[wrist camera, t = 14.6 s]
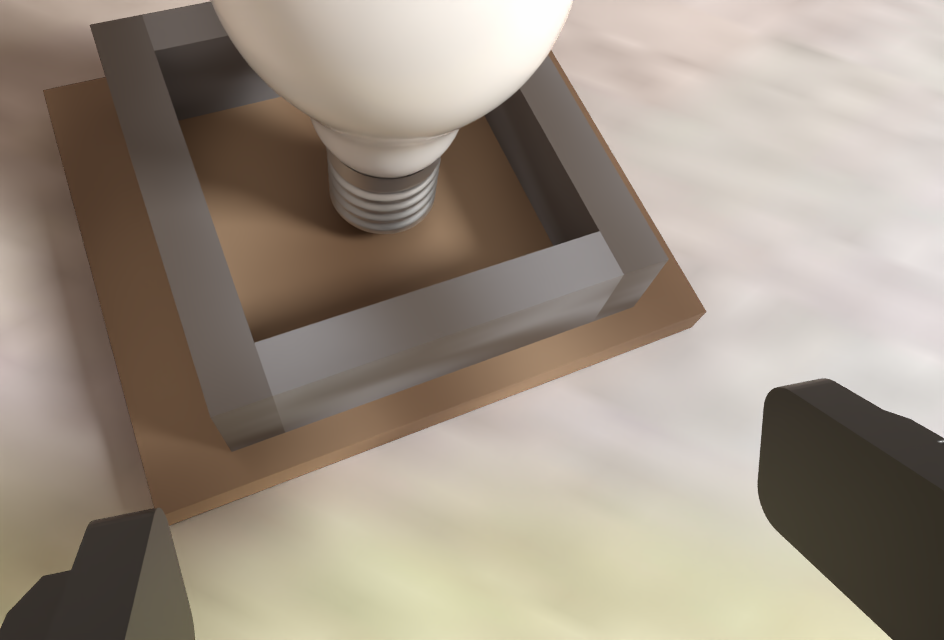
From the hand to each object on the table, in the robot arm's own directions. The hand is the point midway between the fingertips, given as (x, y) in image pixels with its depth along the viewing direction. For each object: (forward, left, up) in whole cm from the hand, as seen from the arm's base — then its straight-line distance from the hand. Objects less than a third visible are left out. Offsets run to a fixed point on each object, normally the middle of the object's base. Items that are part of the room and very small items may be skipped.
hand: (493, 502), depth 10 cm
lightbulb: (-2, -9, -7) cm, 12 cm away
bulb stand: (-2, -9, -8) cm, 12 cm away
